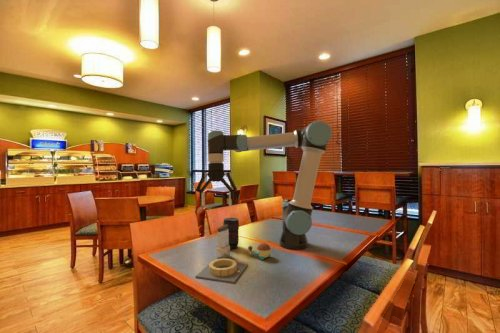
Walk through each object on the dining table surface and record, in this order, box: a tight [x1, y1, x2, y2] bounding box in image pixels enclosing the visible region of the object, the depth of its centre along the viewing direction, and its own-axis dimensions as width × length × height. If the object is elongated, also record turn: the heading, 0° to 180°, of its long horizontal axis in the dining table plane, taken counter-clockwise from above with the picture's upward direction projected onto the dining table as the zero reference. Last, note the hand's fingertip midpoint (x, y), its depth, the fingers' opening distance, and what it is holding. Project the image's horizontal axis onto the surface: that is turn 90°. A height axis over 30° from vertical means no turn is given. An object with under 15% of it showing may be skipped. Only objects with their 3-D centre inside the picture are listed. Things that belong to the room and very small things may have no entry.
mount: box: [195, 258, 248, 284], centre depth 96 cm, size 16×16×3 cm
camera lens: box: [222, 217, 240, 251], centre depth 123 cm, size 8×8×15 cm
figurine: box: [247, 242, 272, 261], centre depth 110 cm, size 7×10×7 cm
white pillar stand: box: [215, 224, 231, 260], centre depth 111 cm, size 6×9×14 cm
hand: (216, 205), depth 115 cm, fingers open, 13 cm apart
